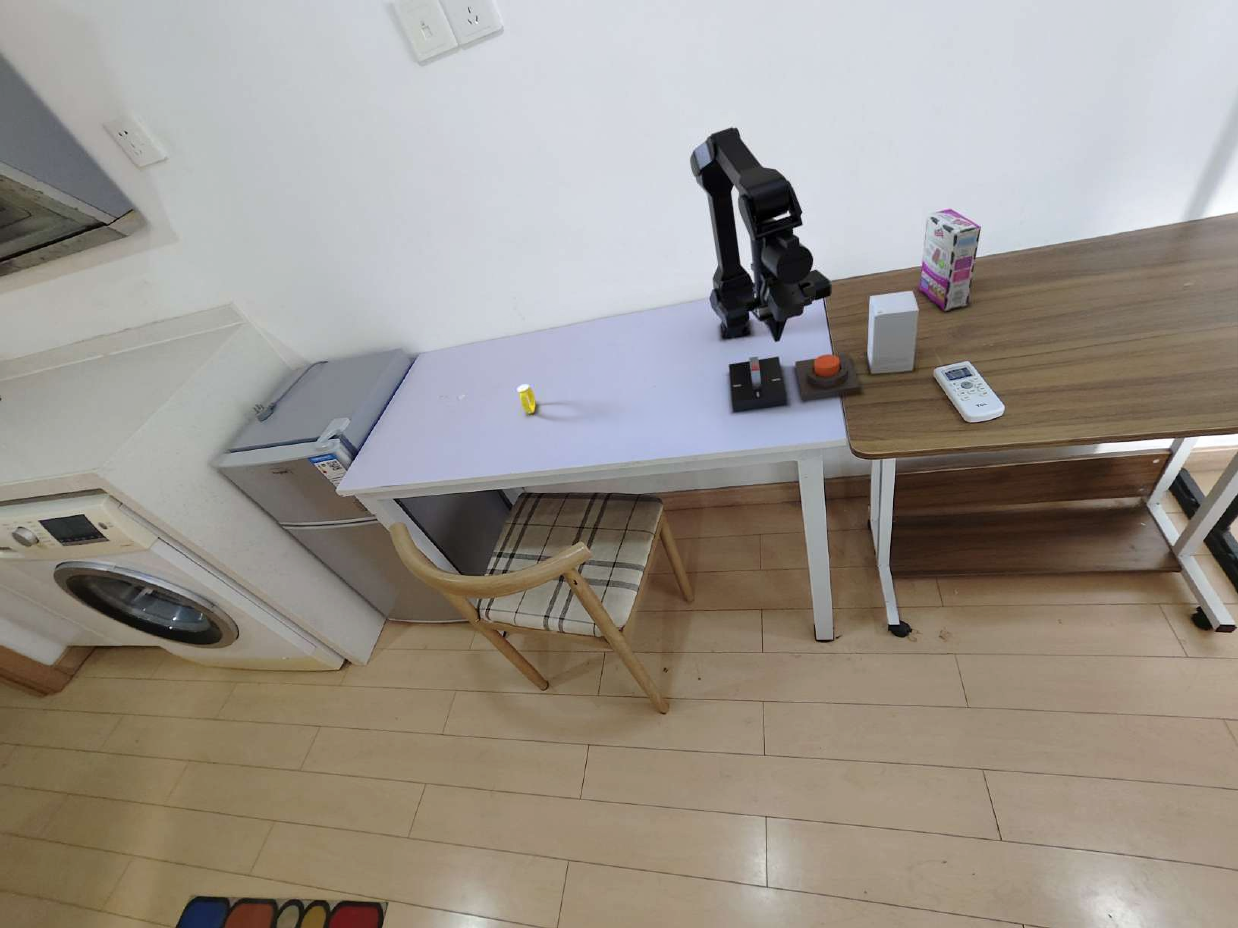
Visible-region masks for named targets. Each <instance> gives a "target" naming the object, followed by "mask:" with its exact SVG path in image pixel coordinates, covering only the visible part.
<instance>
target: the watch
mask: <svg viewBox="0 0 1238 928" xmlns="http://www.w3.org/2000/svg"><path fill="white" fill-rule="evenodd" d="M516 391H517V393H518V394H519V398H520V402H521V406H522V409H523V410H524V412H525V413H526V414H533V413H535V409H536V405H537V404H536V399H535V395H534V391H533V390H532V388H531V386H530V385H529V384H528V383H524V384H521V385H520V386H518V387H517V389H516Z"/></svg>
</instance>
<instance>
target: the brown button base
mask: <svg viewBox="0 0 1238 928" xmlns="http://www.w3.org/2000/svg"><path fill="white" fill-rule="evenodd" d="M849 354H850V353H843V354H841V353H840V354H834V355H835V356H837V357H838V358H839V372H838V373H837V374H835V375H833V376H827V377H824V376H818V375H817V374H816V373H815V369H814V361H815V359H816V358H817V357H815V358H810V359H809V358H808V359H803V360H797V361H795V372H796V376H797V381H798V385H799V389H800V393H801V398H802V401H803V402H807V401H808V402H810V401H816V400H824V399H830V398H839V397H846V396H853V395H859V394H861V386H860V383H859V380H858V377H857V375H856V371H855V368H854V365H853V363H852V359H851V357H850V355H849Z"/></svg>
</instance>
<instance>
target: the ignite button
mask: <svg viewBox="0 0 1238 928" xmlns="http://www.w3.org/2000/svg"><path fill="white" fill-rule="evenodd" d="M835 355H836V354H830V353H829V354H822V355H818V357H815V358H816V359H815V358H814V359H815V361H814V369H815V373H816V374H817V375H818V376H824V377H827V376H833V375H835V374H837V373H838V372H839V358H838V357H837V356H835Z"/></svg>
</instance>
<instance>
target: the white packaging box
mask: <svg viewBox="0 0 1238 928" xmlns="http://www.w3.org/2000/svg"><path fill="white" fill-rule="evenodd" d="M919 312H920V310H919V306H918V303H917V299H916V296H915V294H914V291H913V290H908V291H899V292H891V293H883V294H875V295H870V296H869V307H868V330H867V331H868V332H867V333H868V335H867V352H866V353H867V359H868V366H869V371H870V374H871V375H873V374H874V375H875V374H889V373H903V372H911V371H913V370H914V363H915V362H914V361H915V353H916V343H917V332H918V323H919Z"/></svg>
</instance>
